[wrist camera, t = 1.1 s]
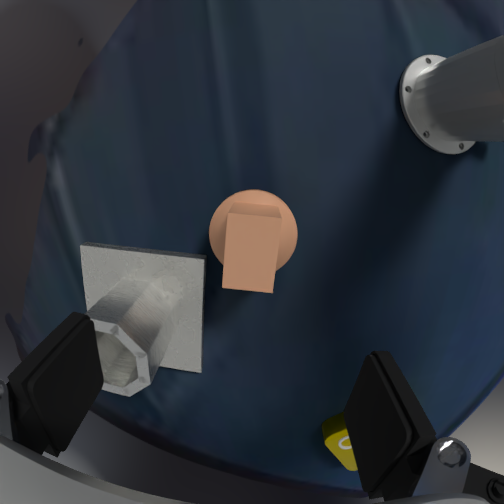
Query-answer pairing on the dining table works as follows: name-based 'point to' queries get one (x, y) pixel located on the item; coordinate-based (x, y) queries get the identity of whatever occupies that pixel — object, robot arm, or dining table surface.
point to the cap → (252, 239)
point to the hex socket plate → (144, 311)
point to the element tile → (339, 440)
